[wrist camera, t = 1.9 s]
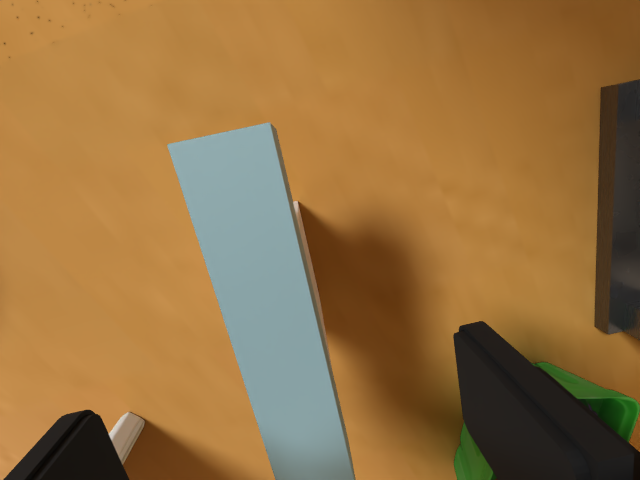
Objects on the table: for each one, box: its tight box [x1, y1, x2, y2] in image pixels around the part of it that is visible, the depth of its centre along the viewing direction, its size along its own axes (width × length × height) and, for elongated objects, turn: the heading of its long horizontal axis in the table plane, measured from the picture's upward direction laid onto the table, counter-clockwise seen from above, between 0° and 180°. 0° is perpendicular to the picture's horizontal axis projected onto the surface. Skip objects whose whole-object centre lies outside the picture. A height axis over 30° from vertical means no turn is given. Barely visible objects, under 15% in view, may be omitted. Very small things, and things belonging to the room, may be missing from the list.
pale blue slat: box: [167, 122, 356, 480], centre depth 15 cm, size 13×2×10 cm, turn 12°
